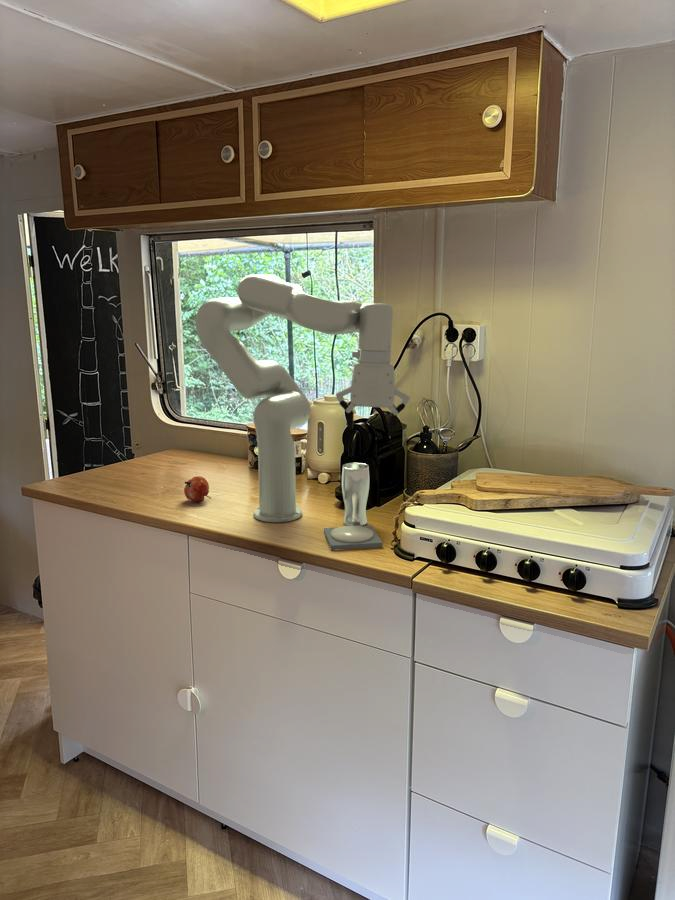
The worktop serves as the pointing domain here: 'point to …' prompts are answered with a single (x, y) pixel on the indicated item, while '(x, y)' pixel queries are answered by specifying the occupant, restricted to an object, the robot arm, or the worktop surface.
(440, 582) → the worktop surface
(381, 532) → the worktop surface
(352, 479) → the beer glass
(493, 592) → the worktop surface
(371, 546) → the coaster board
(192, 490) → the pomegranate
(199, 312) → the robot arm
